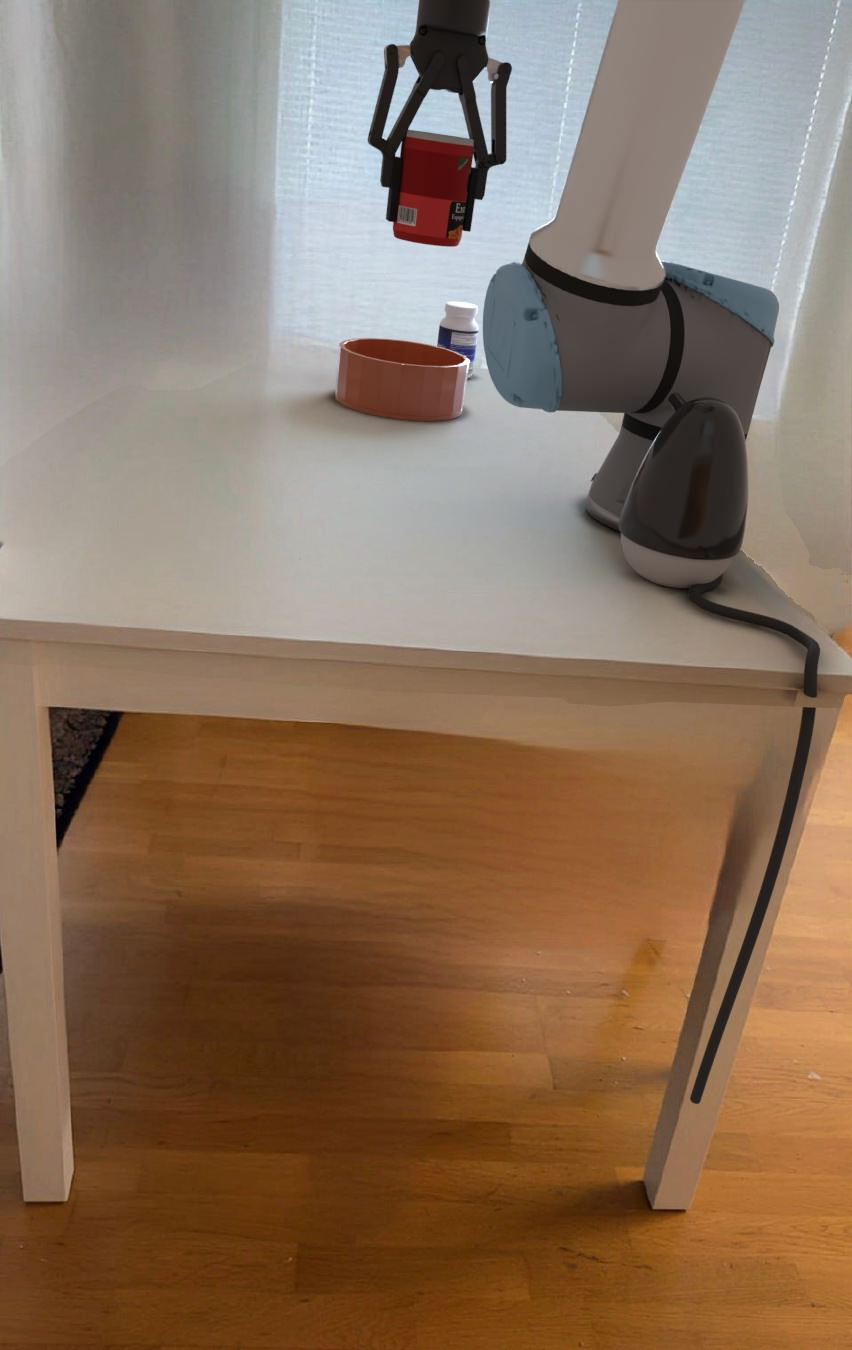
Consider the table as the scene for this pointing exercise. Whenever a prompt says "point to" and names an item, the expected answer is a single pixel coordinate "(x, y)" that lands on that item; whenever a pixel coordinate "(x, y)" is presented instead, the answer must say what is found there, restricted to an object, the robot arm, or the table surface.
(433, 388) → the terracotta bowl
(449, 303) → the pill bottle
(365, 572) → the table surface
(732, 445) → the dark two-tone rounded device
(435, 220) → the canned food
